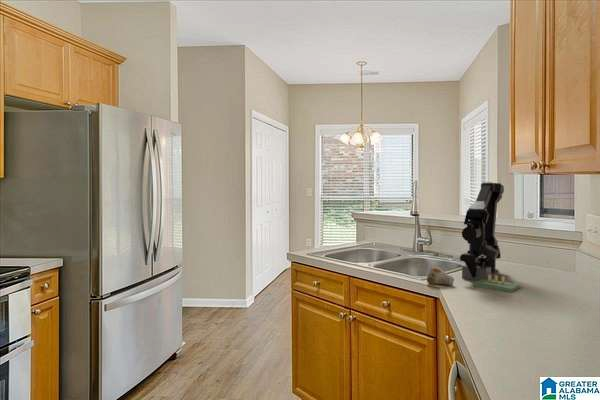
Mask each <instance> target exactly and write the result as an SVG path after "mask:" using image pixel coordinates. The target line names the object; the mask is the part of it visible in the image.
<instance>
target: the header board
mask: <svg viewBox="0 0 600 400" xmlns="http://www.w3.org/2000/svg"><path fill="white" fill-rule="evenodd" d="M472 286H473V287H478V288H484V289H491V290H495V291H496V290H497V291H503V292H509V293H512V292H514V291H516V290H518V289H519V288H520V287H521V284H519V283H514V282H508V281H505V276H501V280H500V281H499V276H498V275H496V274H495V275H494V280H493V279H492V274H491V275H490V274H489V275H488V279H481V280H475V281H474V282H473V283H472Z"/></svg>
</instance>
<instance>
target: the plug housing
mask: <svg viewBox="0 0 600 400" xmlns="http://www.w3.org/2000/svg"><path fill="white" fill-rule="evenodd" d="M489 274H490V275H491V276H492V273H491V267H486V266H478V265H477V269H476V276H475V277H472V275H471V273H470V271H469V269H468V267H467V265H466V264H464V265H462V266H461V278H462V279H468V280H473V281H474V280H475V281H479V280H481V279H488V275H489Z"/></svg>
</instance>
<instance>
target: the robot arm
mask: <svg viewBox="0 0 600 400" xmlns="http://www.w3.org/2000/svg"><path fill="white" fill-rule="evenodd" d="M504 191H505V186H504V185H503V184H502V183H501V182H489V181H487V182H485V181H483V182H481V184H480V189H479V193H478V195H477V198H476V200H475V202H474V203H472V204H471V205H470V206H469V208H468V209H467V210H466V214H465V218H464V221H463V222H464V223H463V225H466V227H464V228H463V230H462V232H461V237H462V239H464V240H465V241H467V244H469V246H468V247H469V249H468V250H467V252H465V253H462V254H461V255H460V256H459V261H460V262H463V263H464V265H467V267H468V269H469V271H470V273H471V275H472V277H475V276H476V269H477V265H478V266H486V267H491V274H494V273H496V272H499V269H498V268H496V266H497V265H496V262H497V260H499V259H501V250H500V246H499V244H498V242H499V241H498V240H497V238H496V237H495V232H496V223H497V211H498V203H499V202H500V201H501V199H502V198H503V194H504Z"/></svg>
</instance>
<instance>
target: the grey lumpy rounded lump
mask: <svg viewBox="0 0 600 400" xmlns="http://www.w3.org/2000/svg"><path fill="white" fill-rule="evenodd" d="M426 282H427V283H430V284H432V285H445V286H448V285H450V286H452V285H453V284H454V282H455V279H454V277H453V276H452V275H450V274H448V273H446V272H445V271H444V270H443V269H442V268H441V267H438V266H436V265H432V266H431V267H430V269H429V271H428V274H427V278H426Z"/></svg>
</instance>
